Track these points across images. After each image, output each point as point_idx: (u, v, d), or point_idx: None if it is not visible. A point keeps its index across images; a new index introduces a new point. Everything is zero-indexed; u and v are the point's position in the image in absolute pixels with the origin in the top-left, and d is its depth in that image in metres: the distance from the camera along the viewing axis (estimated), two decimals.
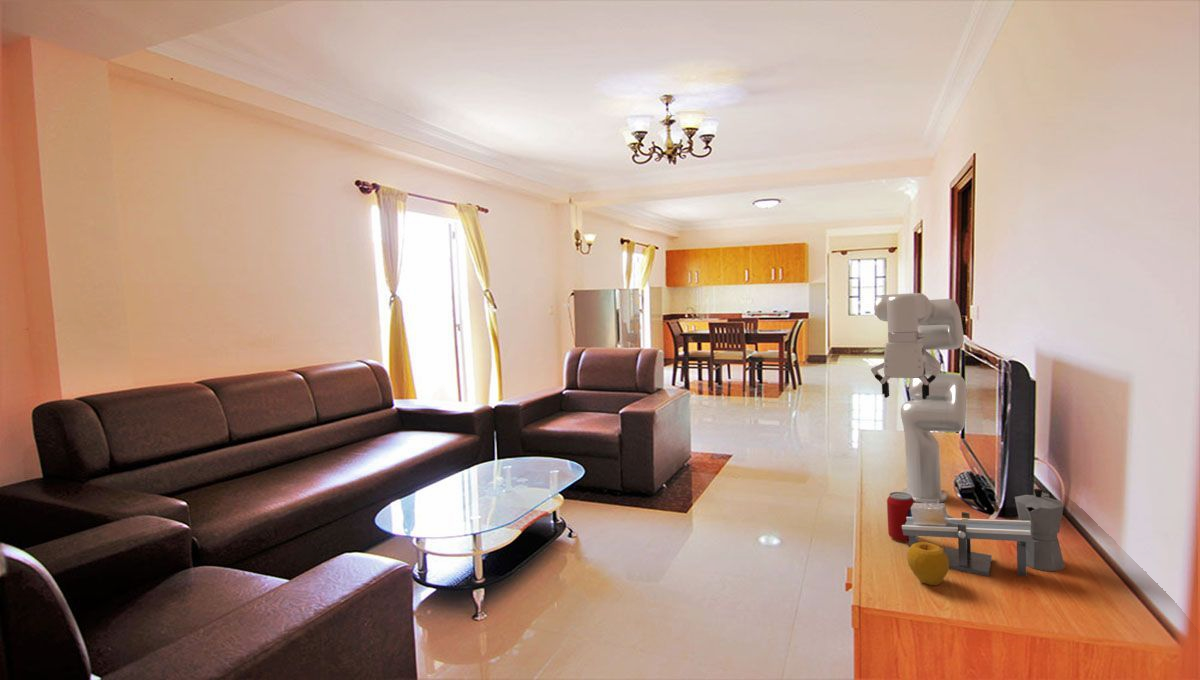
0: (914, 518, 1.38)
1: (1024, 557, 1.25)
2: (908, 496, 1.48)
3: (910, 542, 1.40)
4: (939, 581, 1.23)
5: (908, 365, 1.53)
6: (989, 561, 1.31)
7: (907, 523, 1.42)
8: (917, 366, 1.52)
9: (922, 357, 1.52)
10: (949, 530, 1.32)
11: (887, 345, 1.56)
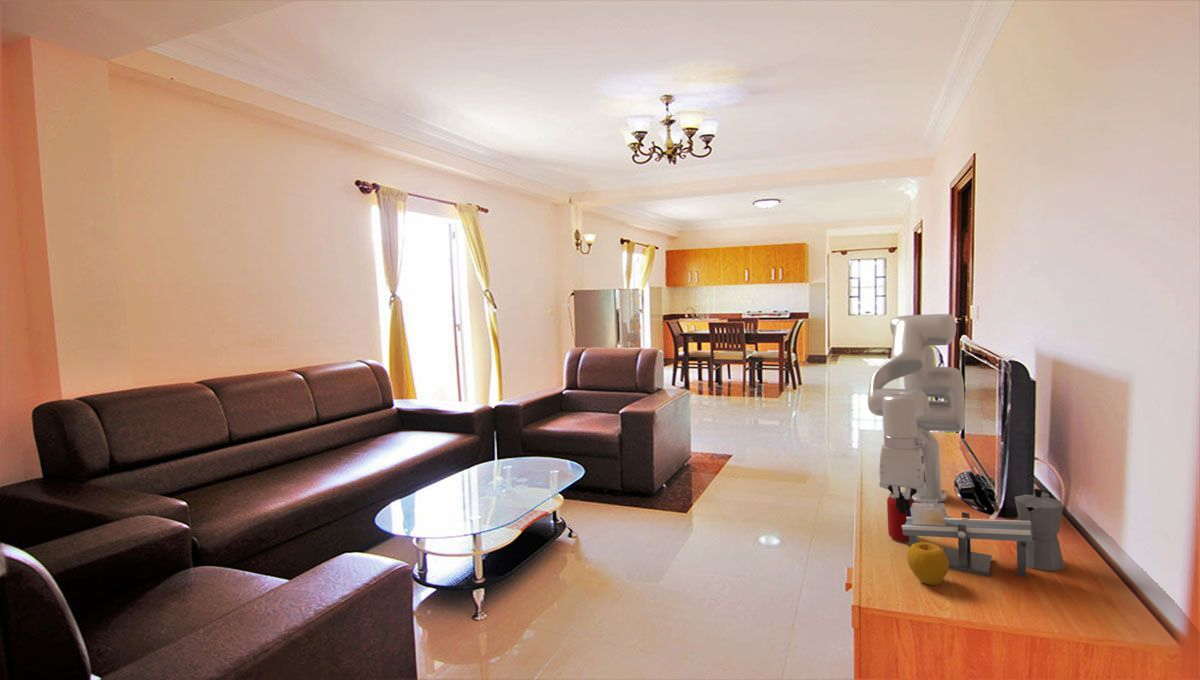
0: (914, 518, 1.38)
1: (1024, 557, 1.25)
2: None
3: (910, 542, 1.40)
4: (939, 581, 1.23)
5: (906, 474, 1.38)
6: (989, 561, 1.31)
7: (907, 523, 1.42)
8: (916, 476, 1.37)
9: (922, 466, 1.37)
10: (949, 530, 1.32)
11: (883, 449, 1.41)
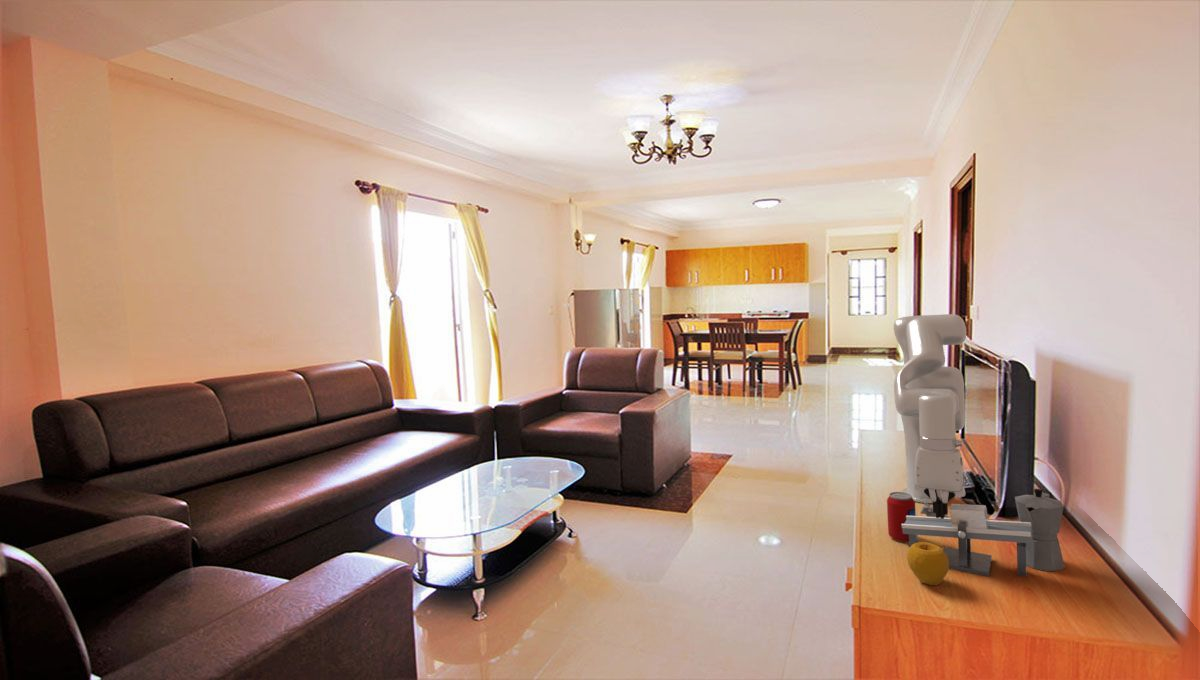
0: (953, 520, 1.32)
1: (1024, 557, 1.25)
2: (908, 496, 1.48)
3: (910, 542, 1.40)
4: (939, 581, 1.23)
5: (944, 476, 1.32)
6: (989, 561, 1.31)
7: (907, 522, 1.42)
8: (955, 479, 1.31)
9: (961, 468, 1.31)
10: (949, 530, 1.32)
11: (919, 451, 1.36)
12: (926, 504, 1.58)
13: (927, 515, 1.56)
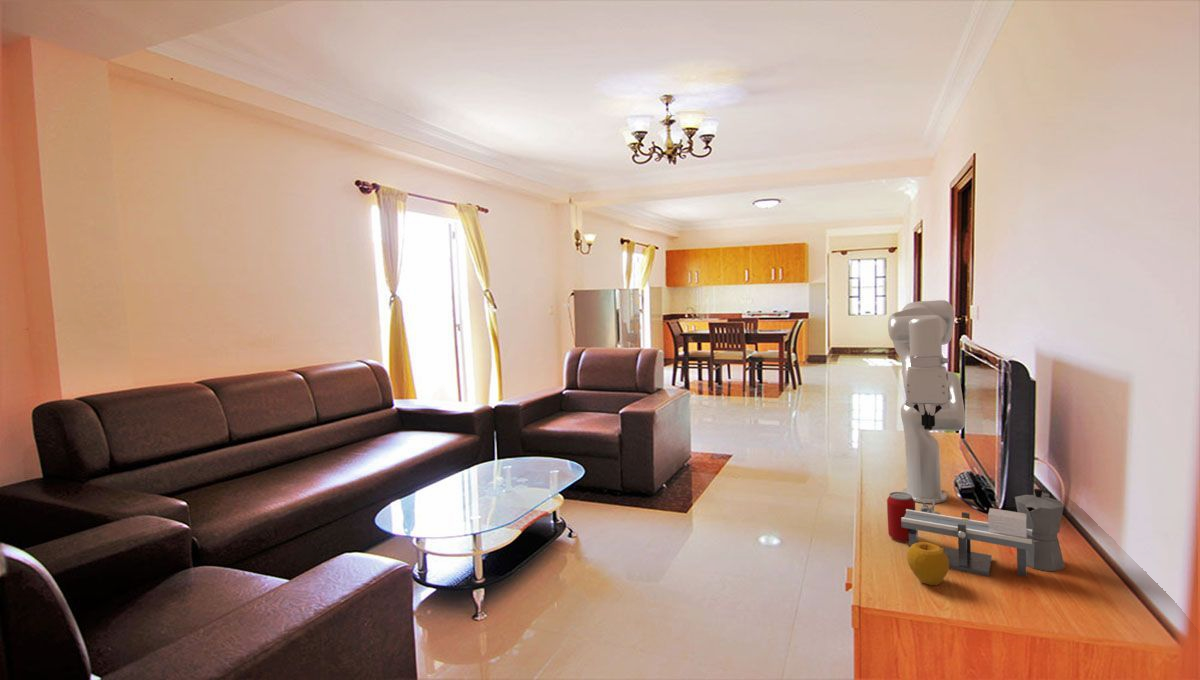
0: (990, 525, 1.28)
1: (1024, 557, 1.25)
2: (908, 496, 1.48)
3: (910, 542, 1.40)
4: (939, 581, 1.23)
5: (932, 391, 1.47)
6: (989, 561, 1.31)
7: (906, 515, 1.42)
8: (941, 392, 1.46)
9: (946, 383, 1.45)
10: (949, 528, 1.32)
11: (909, 369, 1.50)
12: (924, 505, 1.57)
13: None
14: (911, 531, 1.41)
